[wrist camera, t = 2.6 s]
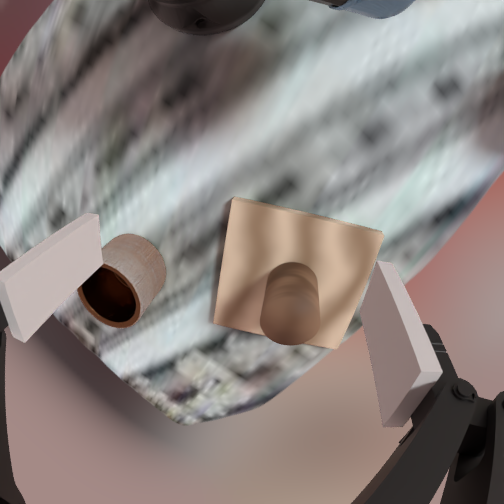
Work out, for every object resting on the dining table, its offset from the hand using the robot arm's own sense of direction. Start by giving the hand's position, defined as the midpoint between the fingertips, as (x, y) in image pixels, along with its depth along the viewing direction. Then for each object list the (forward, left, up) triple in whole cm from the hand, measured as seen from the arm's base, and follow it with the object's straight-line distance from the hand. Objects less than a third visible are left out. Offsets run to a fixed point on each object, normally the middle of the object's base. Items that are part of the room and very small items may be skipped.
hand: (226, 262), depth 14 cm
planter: (-3, -26, -27) cm, 37 cm away
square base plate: (+14, -9, -27) cm, 31 cm away
